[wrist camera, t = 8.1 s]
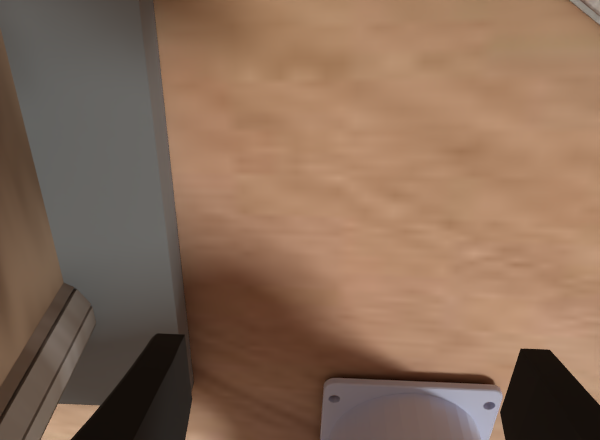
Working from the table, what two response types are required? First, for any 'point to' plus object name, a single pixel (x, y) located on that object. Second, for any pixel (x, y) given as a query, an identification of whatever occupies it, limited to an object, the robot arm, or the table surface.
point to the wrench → (589, 8)
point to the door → (31, 287)
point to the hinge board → (102, 171)
